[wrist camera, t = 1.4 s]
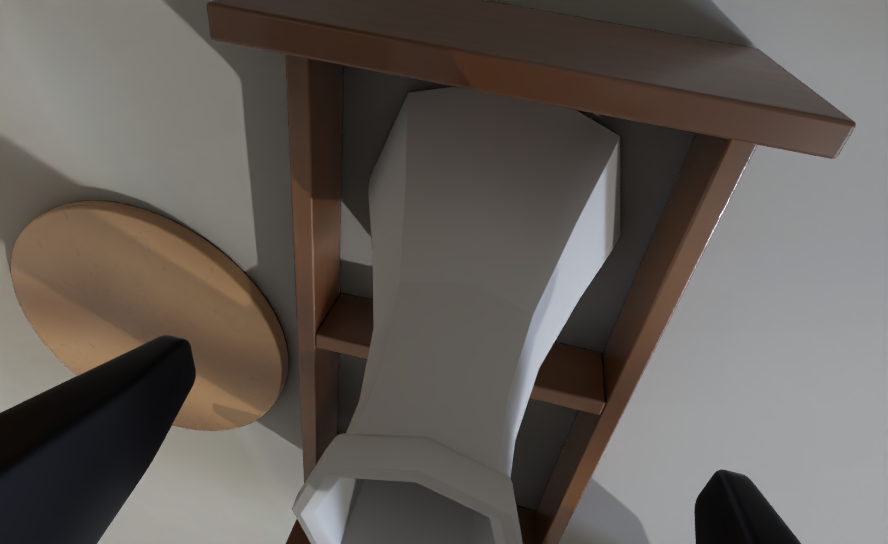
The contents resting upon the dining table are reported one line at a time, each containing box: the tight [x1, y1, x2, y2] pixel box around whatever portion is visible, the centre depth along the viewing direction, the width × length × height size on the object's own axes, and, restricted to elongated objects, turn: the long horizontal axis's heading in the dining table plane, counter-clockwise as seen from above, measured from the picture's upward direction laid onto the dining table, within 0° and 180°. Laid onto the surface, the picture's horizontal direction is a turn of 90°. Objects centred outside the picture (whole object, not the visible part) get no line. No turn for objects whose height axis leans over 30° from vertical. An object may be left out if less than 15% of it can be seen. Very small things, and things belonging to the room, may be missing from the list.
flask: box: [292, 87, 620, 544], centre depth 11 cm, size 7×7×10 cm
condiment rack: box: [207, 0, 856, 544], centre depth 16 cm, size 20×10×5 cm, turn 173°
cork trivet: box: [11, 201, 288, 431], centre depth 21 cm, size 11×11×1 cm
